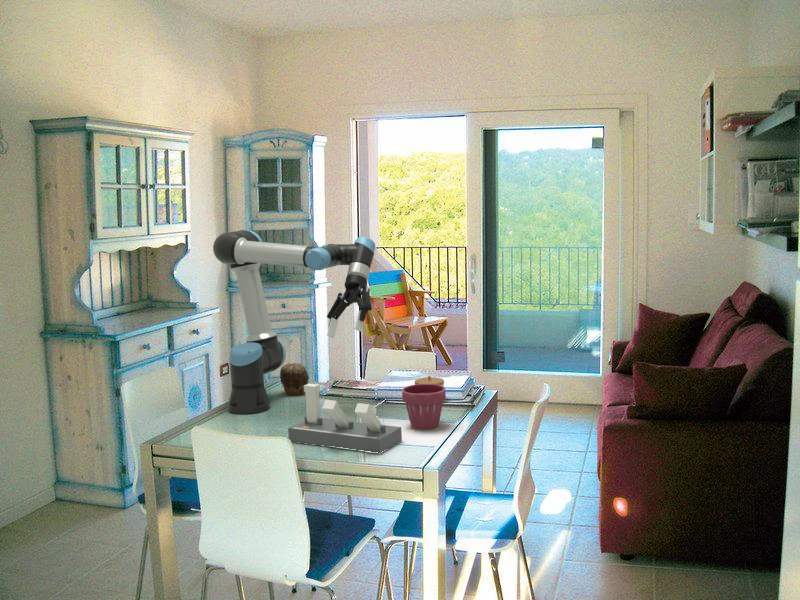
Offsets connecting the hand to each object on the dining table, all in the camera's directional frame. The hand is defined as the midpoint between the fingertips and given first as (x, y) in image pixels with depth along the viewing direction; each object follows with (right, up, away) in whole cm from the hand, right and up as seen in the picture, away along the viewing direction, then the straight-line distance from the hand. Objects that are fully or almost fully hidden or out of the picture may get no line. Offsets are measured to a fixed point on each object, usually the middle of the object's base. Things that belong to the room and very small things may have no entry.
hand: (343, 333), depth 291 cm
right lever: (+12, -28, -26) cm, 40 cm away
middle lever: (+1, -28, -20) cm, 34 cm away
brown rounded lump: (-22, -25, +44) cm, 55 cm away
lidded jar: (+30, -26, +26) cm, 47 cm away
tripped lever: (-9, -27, -15) cm, 32 cm away
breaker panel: (+2, -33, -20) cm, 39 cm away
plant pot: (+27, -31, -6) cm, 41 cm away
